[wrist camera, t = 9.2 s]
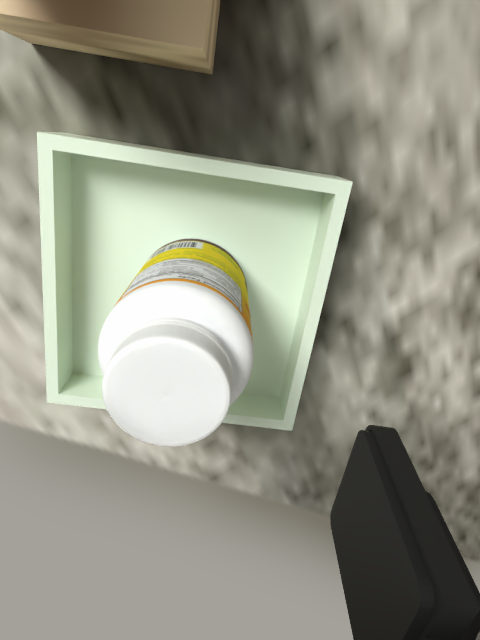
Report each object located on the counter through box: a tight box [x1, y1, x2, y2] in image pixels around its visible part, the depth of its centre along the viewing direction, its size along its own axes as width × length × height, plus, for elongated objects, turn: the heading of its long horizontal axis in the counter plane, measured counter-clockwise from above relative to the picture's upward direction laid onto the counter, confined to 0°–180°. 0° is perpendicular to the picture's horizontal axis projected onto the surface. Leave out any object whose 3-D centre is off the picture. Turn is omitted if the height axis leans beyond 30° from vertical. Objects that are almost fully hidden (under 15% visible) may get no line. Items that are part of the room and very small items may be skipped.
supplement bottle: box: [98, 238, 253, 447], centre depth 17 cm, size 6×6×10 cm
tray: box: [37, 132, 353, 431], centre depth 22 cm, size 13×13×3 cm
